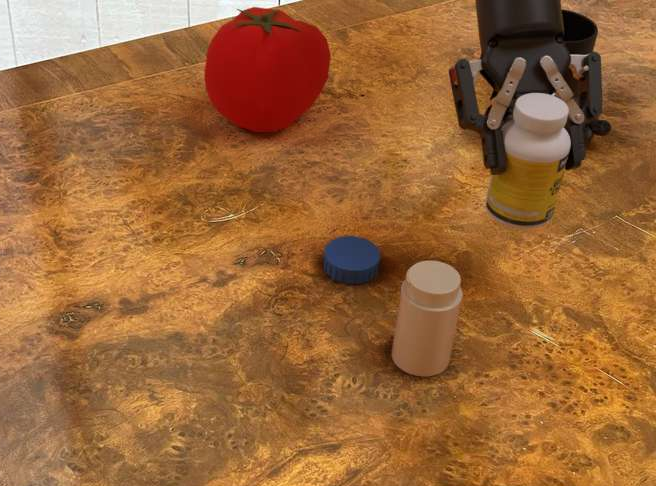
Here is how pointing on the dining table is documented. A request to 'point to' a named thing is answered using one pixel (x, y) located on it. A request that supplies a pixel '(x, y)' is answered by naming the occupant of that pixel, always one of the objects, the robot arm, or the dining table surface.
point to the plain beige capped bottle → (427, 318)
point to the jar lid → (351, 260)
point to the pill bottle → (531, 163)
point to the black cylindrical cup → (577, 41)
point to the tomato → (266, 69)
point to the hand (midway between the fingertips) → (536, 170)
